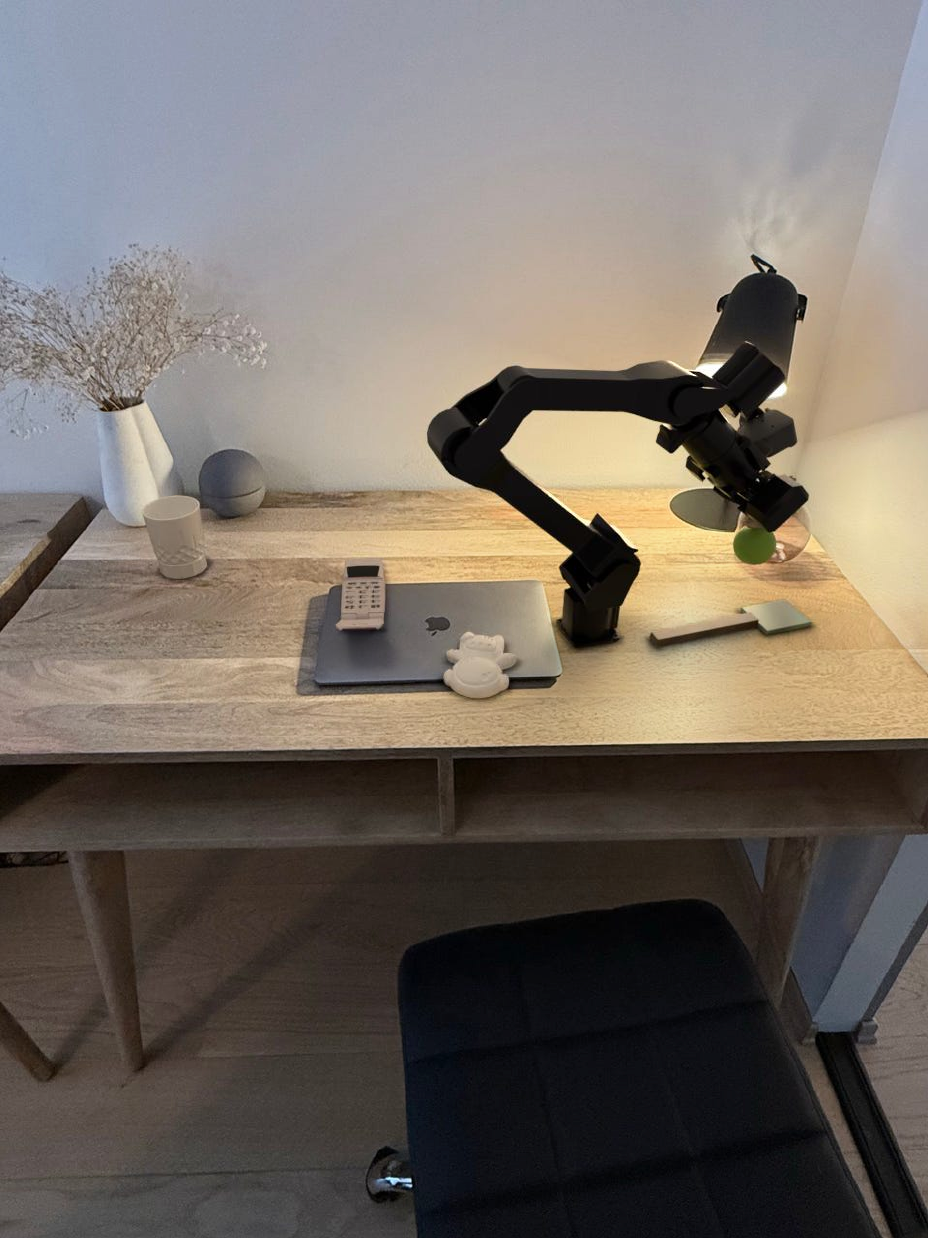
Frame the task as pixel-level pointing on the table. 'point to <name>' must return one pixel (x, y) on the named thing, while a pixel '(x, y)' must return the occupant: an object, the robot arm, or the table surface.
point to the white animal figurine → (479, 666)
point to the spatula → (737, 623)
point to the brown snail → (754, 543)
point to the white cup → (176, 535)
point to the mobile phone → (362, 594)
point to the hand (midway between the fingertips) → (773, 516)
